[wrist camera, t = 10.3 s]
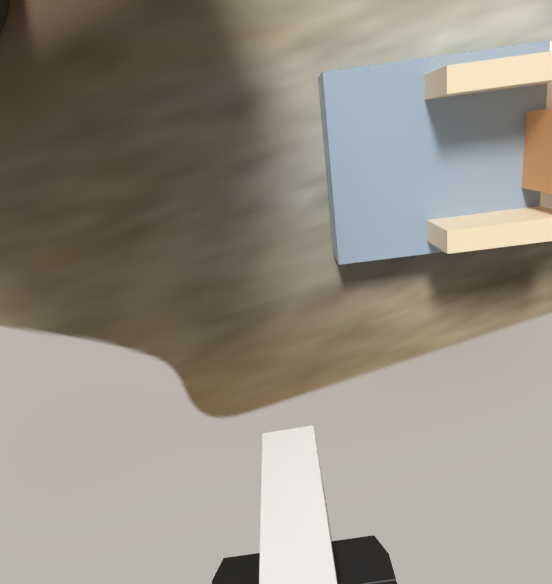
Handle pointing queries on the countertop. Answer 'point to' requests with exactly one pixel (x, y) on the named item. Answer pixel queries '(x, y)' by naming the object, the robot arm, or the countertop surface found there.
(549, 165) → the block
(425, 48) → the countertop surface
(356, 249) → the tunnel deck
